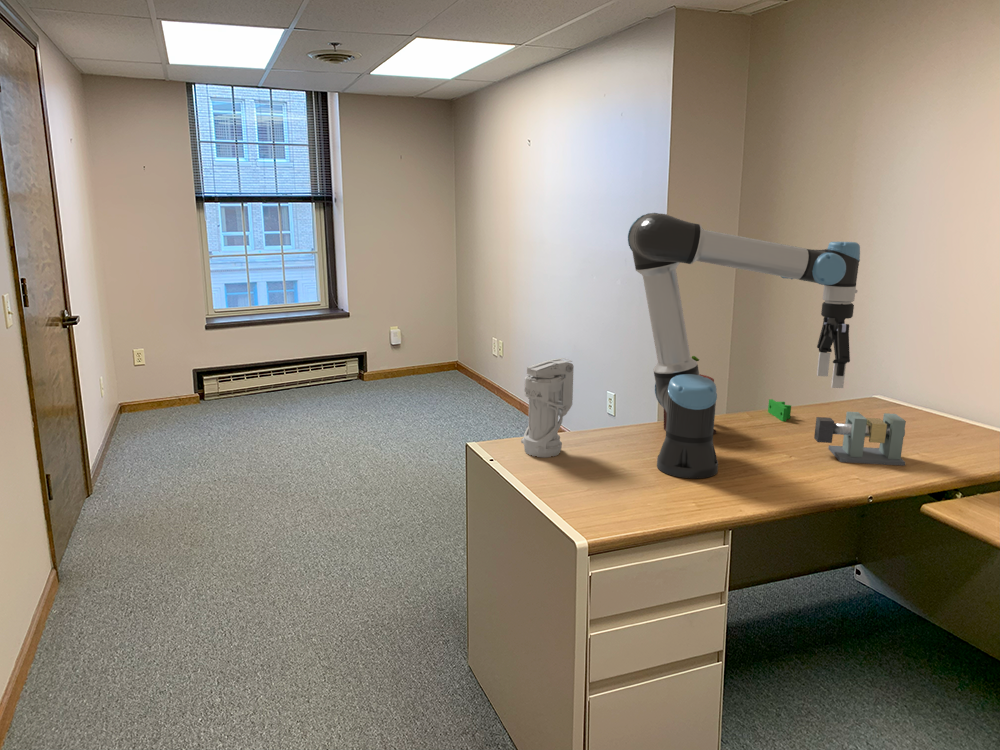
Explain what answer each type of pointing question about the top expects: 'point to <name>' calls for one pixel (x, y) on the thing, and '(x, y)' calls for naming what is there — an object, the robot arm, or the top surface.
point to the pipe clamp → (779, 410)
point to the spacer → (876, 430)
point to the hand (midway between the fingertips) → (829, 381)
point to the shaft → (835, 429)
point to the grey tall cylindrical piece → (547, 405)
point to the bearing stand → (859, 454)
